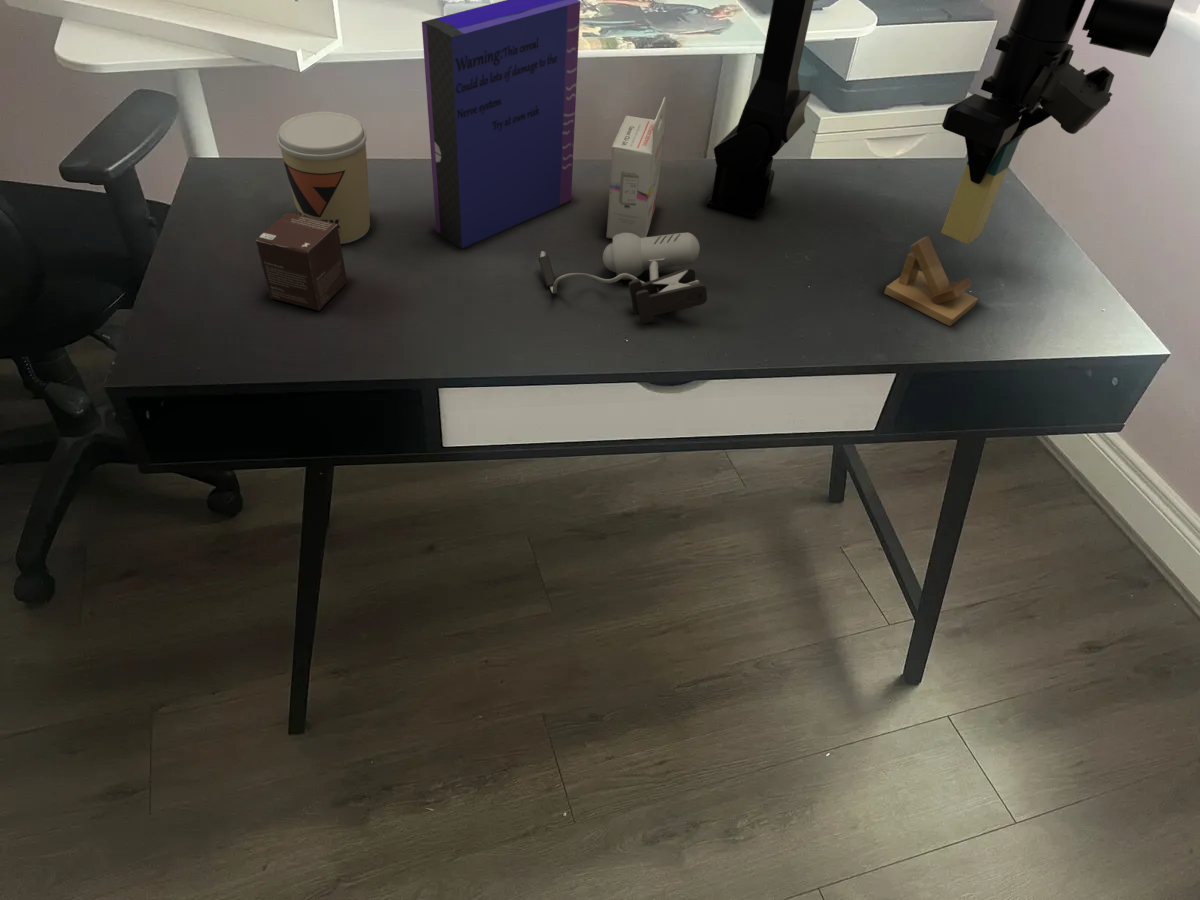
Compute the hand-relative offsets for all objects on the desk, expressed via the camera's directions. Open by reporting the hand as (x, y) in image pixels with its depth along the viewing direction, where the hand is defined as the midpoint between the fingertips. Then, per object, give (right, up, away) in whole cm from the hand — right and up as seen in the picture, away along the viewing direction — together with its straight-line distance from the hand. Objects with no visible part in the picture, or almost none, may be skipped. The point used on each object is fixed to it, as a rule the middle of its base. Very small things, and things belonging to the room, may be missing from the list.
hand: (983, 177), depth 101 cm
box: (-74, -13, -3) cm, 75 cm away
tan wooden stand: (-5, -13, +3) cm, 14 cm away
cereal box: (-54, -2, +10) cm, 55 cm away
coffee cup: (-73, -4, +6) cm, 74 cm away
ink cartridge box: (-39, -3, +11) cm, 40 cm away
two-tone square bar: (0, -1, +1) cm, 1 cm away
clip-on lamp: (-40, -13, 0) cm, 42 cm away
